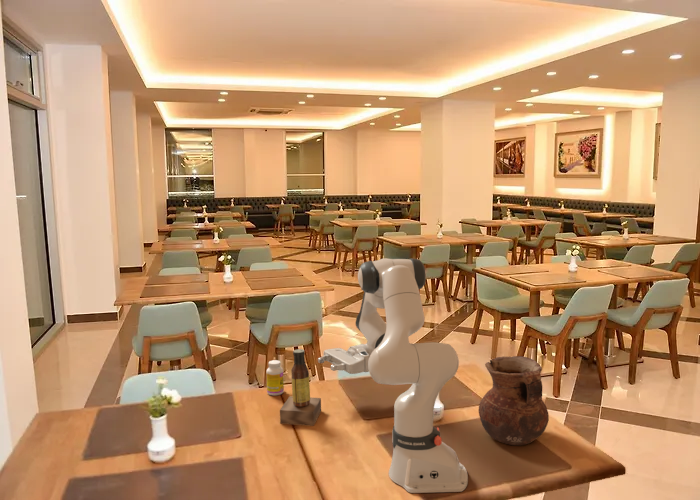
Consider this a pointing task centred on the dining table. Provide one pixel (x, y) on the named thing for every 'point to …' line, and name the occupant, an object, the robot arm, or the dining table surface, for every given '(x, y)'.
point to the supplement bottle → (275, 378)
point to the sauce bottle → (300, 380)
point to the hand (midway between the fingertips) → (325, 364)
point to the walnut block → (300, 412)
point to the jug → (514, 401)
